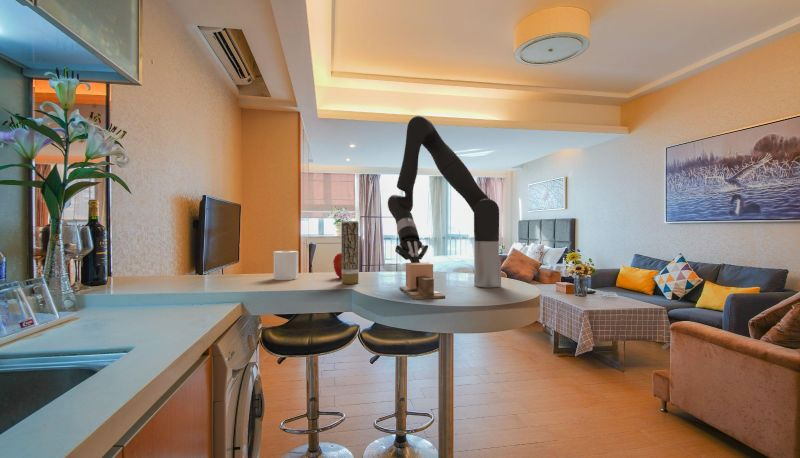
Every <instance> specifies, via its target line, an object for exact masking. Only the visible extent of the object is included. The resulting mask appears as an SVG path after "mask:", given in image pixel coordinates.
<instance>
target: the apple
mask: <svg viewBox="0 0 800 458" xmlns="http://www.w3.org/2000/svg"><path fill="white" fill-rule="evenodd" d="M332 263H333V270H334V272H335V275H336V276H338V278H340V279H342V252H339V253H337V254H336V255H335V256H334V258H333V262H332Z"/></svg>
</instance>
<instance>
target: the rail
mask: <svg viewBox="0 0 800 458" xmlns="http://www.w3.org/2000/svg"><path fill="white" fill-rule="evenodd" d="M434 283H435V278H433V279H432V278H430V277H427V276H419V277H416V289H410V288H408V287H407V286H406V285H405V286H399V290H400V289H401V290H400V291H402V290H403V291H404V292H403V291H402V292H403V293H405V292H406V293H407V294H409V295H410V296H411V297H410V296H409V295H408V296H409V297H410V298H412V297H413V298H414V300H415V299H420V300H431V299H430V298H439V299H446V295H445V294H443V293H442V292H440V291H437V290H435V289H434V288H435V284H434ZM406 293H405V294H406ZM407 294H406V295H407ZM413 298H412V299H413ZM428 298H429V299H428Z"/></svg>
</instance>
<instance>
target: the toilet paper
mask: <svg viewBox="0 0 800 458" xmlns="http://www.w3.org/2000/svg"><path fill="white" fill-rule="evenodd" d="M298 279H299V251H297V250H275V251H273V280H275V281H292V280H298Z"/></svg>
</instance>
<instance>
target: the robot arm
mask: <svg viewBox="0 0 800 458" xmlns="http://www.w3.org/2000/svg"><path fill="white" fill-rule="evenodd" d="M406 128H407V129H406V137H405V145H404V153H403V158H402V163H401V167H400V172H399V176H398V178H397V182H396V188H397V189H398V190H400V191H402V192H404V195H398V194H391V195H390V196H389V198H388V199H387V209H388V211H389V212H390V214H391V215H392V217H393V218H394V220H395V223H396V224H395V225H396V231H397V235H398V240H399V245H395V248H394V249H395V252H396V253H397V254H398V255H399V256H401V258H403V259H404V260H409V261H410V263H421V261H420V260H422V259H423V257H424V256H425V255H426V253H427V252H428V248H429V245H428V244H426V245H425V244H423V243H422V241H421V240H420V236H419V233H418V229H417V225H416V223H415V221H414V217H413V214H412V213H411V211H412V210H413V206H414V186H415V183H416V181H417V180H416V179H417V176H418V170H419V155H420V151H421V147H422V146H423V147H424V148H425V149H426V150H427V152H428V153H429V154H430V156H431V157H432V159H433V161H434V162H433V163H434V164H435V166H436V168H437V169H438V171H439V173H440V174H441V175H442V177H443V178H444V179H445V180H446V182H448V184H449V185H450V186H451V187H452V189H454V190H455V191H456V192H457V194H459V195H460V196H461V197H462V198H463V199H464V200H465V202H466V203H467V205H468V206H469V208H470V209H471V211H472V213H473V242H474V243H473V245H474V246H473V248H474V249H473V253H474V254H473V259H474V260H473V261H474V262H473V263H474V264H473V267H474V270H473V274H474V276H473V281H474V282H473V285H474V286H475V287H478V288H497V287H498V288H499V287H502V261H501V260H500V207H499V205H498V203H497V202H496V201H495V200H493V199H491V198H489V197H488V195H486V193H485V192H484V191H483V190H482V189H481V188H480V186H479V185H478V184H477V182H476V180H475V178H474V176H473V174H472V173H471V171H470V170H469V168H468V167H467V166H466V165H465V164H464V162H463V161H462V159H461V158H460V157H459V155H457V154H456V153H455V152H454V150H453V149H452V148H450V146H449V145H447V144H446V143H445V141H444V140H443V138H442V137H441V135H440V134H439V132H438V131H437V129H436V128H435V126H434V125H433V123H432V121H431V120H429V119H428V118H426V117H424V116H421V115H416V116H414V117H411V119H410V120H409V121H408V123H407V127H406ZM420 250H421V251H420ZM419 251H420V253H419Z"/></svg>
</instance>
